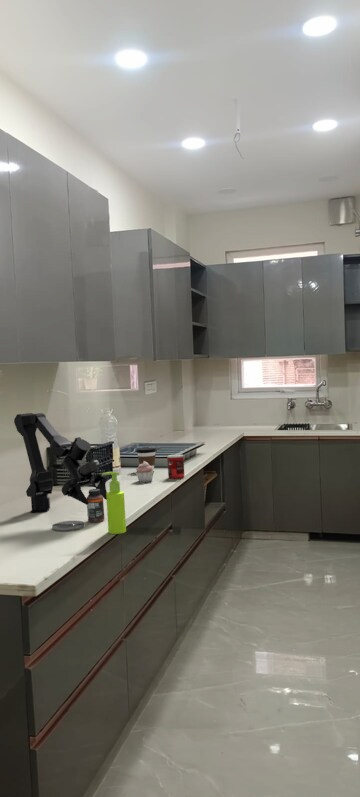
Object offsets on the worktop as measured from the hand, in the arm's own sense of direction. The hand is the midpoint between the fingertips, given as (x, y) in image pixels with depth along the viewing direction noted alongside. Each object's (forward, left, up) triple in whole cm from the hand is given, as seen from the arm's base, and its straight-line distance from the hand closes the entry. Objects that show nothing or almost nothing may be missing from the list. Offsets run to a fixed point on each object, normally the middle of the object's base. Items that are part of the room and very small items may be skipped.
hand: (97, 501), depth 219 cm
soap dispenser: (+7, -16, -7) cm, 19 cm away
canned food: (+31, +80, -7) cm, 86 cm away
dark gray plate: (-10, -6, -7) cm, 14 cm away
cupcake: (+16, +75, -7) cm, 77 cm away
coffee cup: (+17, +105, -7) cm, 107 cm away
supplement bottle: (-1, +1, -7) cm, 8 cm away
